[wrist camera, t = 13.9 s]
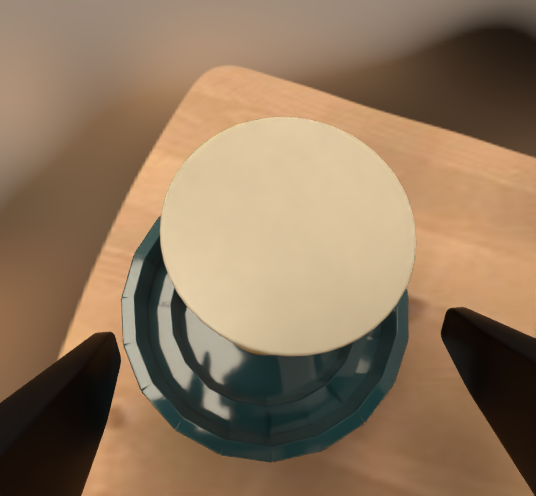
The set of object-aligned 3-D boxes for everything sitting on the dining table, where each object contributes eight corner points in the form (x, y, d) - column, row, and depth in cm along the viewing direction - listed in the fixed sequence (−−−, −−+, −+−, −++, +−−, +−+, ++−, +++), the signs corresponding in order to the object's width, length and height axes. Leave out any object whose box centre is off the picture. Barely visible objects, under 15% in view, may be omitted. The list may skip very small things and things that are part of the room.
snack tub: (271, 380, 17) (317, 423, 6) (196, 314, 18) (101, 233, 7) (330, 302, 19) (462, 208, 7) (258, 244, 20) (272, 79, 8)
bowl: (210, 489, 16) (196, 535, 12) (117, 264, 20) (81, 238, 15) (417, 357, 19) (466, 356, 15) (303, 179, 22) (316, 136, 18)
